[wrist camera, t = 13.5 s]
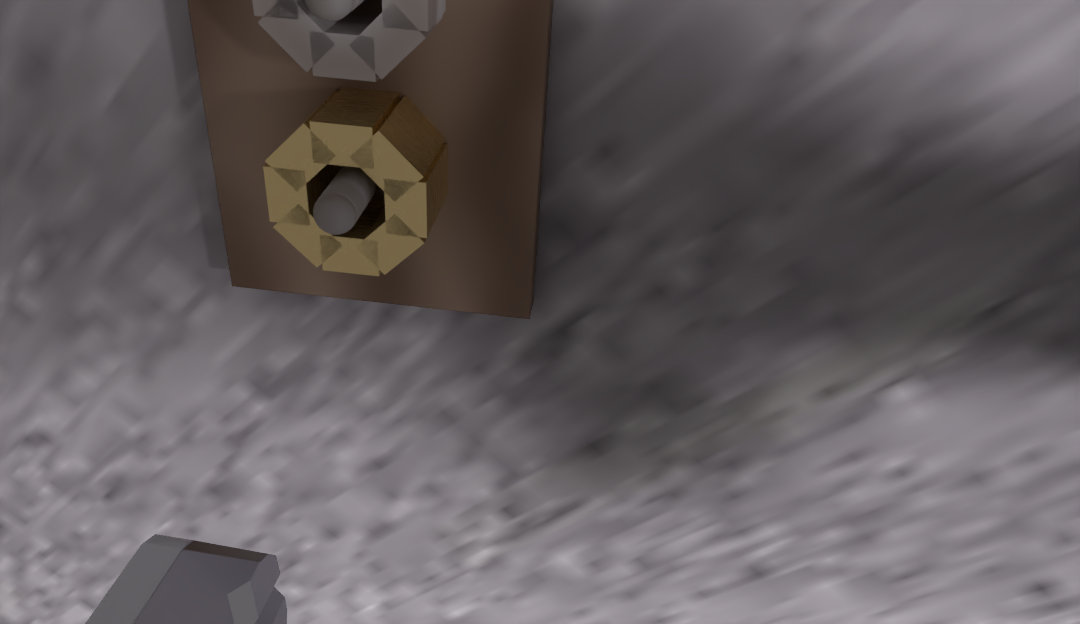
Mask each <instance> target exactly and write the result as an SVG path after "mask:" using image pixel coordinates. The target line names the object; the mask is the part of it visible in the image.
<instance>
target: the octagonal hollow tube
mask: <svg viewBox="0 0 1080 624" xmlns="http://www.w3.org/2000/svg"><path fill="white" fill-rule="evenodd" d="M444 139H445V137H444V136H443V135H442V134H441V132H440V131H439V130H438V129H437V128H436V127H435V126H434V125H433V124H432V123H431V122H430V121H429V120H428V119H427V118H426V117H425V115H424V114H423V113H422V112H421V111H420V110H419V109H418V108H417V107H416V106H415V105H414V104H413V103H412V102H411V101H410V100H409V99H408V97H407V96H406V95H405V96H404V97H402V98H401V99H400V92H393V91H383V90H372V89H362V88H351V87H342V88H341V89H340V90H338V89H336V90H335V91H334V92H333V93H332V94H331V95H330V96H329V97H328V98H327V99H326V100H325V101H324V102H323V103H322V104H321V105H320V106H319V107H318V108H317V109H316V110H315V111H314V112H313V113H312V114H311V115H310V116H309V117H308V118H307V119H306V120H305V121H304V122H303V123H302V124H301V125H300V126H299V127H298V128H297V129H296V130H295V131H294V132H293V133H292V134H291V135H290V136H289V137H288V138H287V139H286V140H285V141H284V142H283V143H282V144H281V145H280V146H279V147H278V148H277V149H276V150H275V151H274V152H273V153H272V154H271V155H270V156H269V157H268V158H267V159H266V160H265V162H266V164H265V165H264V166H263V170H264V178H265V187H266V195H267V203H268V211H269V219H270V222H277V223H276V224H275V225H274V226H273V228H274V229H275V230H277V231H278V232H279V233H280V234H281V235H282V236H283V237H284V238H285V239H286V240H287V241H289V242H290V243H291V244H292V245H293V246H294V247H295V248H296V249H297V250H298V251H299V252H301V253H302V254H303V255H304V256H305V257H306V258H307V259H308V260H309V261H310V262H311V263H312V264H314V265H315V266H316V267H318V266H319V265H321V264H322V268H323V270H325V271H334V272H343V273H352V274H361V275H371V276H380V274H381V272H382V273H383V274H384V275H385V274H387V273H388V272H389V271H390V270H392V269H393V268H394V267H395V266H397V265H398V264H399V263H400V262H402V261H403V260H404V259H405V258H407V257H408V256H409V255H410V254H412V253H413V252H414V251H415V250H417V249H418V248H419V247H420V246H422V245H423V244H424V243H425V241H426V239H427V237H428V235H429V233H430V231H431V229H432V226H433V224H434V222H435V220H436V218H437V216H438V214H439V212H440V210H441V207H442V205H443V203H444V201H445V199H446V197H447V195H448V143H443V141H444ZM340 166H349V167H359V168H361V169H362V170H363V171H364V172H365V173H366V174H367V175H368V176H369V177H370V178H371V179H372V180H373V181H374V182H375V183H376V184H377V185H378V186H379V187H380V188H381V189H382V190H383V191H384V196H383V195H373V197H372V198H371V200H370V202H369V203H368V205H367V206H366V208H365V209H364V211H363V212H362V214H361V215H360V217H359V219H358V220H357V222H356V223H355V225H354V226H353V227H352V228H351V229H350V230H349V231H348V232H346V233H343V234H339V235H333V234H329V233H326V232H324V231H323V230H322V229H320V228H319V227H318V225H317V224H316V222H315V220H314V216H313V209H314V205H315V203H316V201H317V200H318V198H319V197H320V196H321V194H322V193H323V192H324V190H325V189H326V188H327V186H328V185H329V184H330V183H331V181H332V180H333V179H334V177H335V176H336V175H337V174H338V172H339V171H340Z"/></svg>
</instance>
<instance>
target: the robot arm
mask: <svg viewBox="0 0 1080 624" xmlns="http://www.w3.org/2000/svg"><path fill="white" fill-rule="evenodd" d="M279 575H280V570H279V566H278V561H277V557H276V555H271V554H266V553H260V552H255V551H249V550H244V549H238V548H232V547H227V546H221V545H216V544H210V543H205V542H199V541H194V540H188V539H182V538H176V537H170V536H163V535H157V534H155V535H154V536H152V537H151V538H150V539H148V540H147V541H146V542H144V543H143V544H142V545H141V546H140V548H139V549H138V550H137V552H136V553H135V555H134V556H133V557H132V559H131V560H130V562H129V563H128V564H127V566H126V567H125V569H124V570H123V571H122V573H121V574H120V576H119V577H118V578H117V580H116V581H115V583H114V584H113V586H112V587H111V588H110V590H109V591H108V593H107V594H106V595H105V597H104V598H103V600H102V601H101V602H100V604H99V605H98V607H97V608H96V609H95V611H94V612H93V614H92V615H91V616H90V618H89V619H88V621H87V622H86V624H287V607H286V601H285V597H284V596H283V595H282V594H281V593H280V592H279V591H278V590H277V589H276V588H275V587H274V585H275V583H276V581H277V579H278V577H279Z"/></svg>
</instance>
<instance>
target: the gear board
mask: <svg viewBox="0 0 1080 624" xmlns="http://www.w3.org/2000/svg"><path fill="white" fill-rule="evenodd" d="M188 7H189V13H190V20H191V26H192V32H193V39H194V45H195V52H196V58H197V64H198V71H199V77H200V83H201V90H202V96H203V103H204V109H205V115H206V122H207V128H208V134H209V141H210V147H211V154H212V160H213V166H214V173H215V179H216V185H217V192H218V198H219V205H220V211H221V217H222V224H223V230H224V237H225V243H226V249H227V256H228V262H229V268H230V275H231V281H232V286H236V287H245V288H254V289H263V290H272V291H281V292H290V293H300V294H309V295H318V296H327V297H336V298H345V299H354V300H363V301H372V302H381V303H390V304H399V305H408V306H417V307H426V308H436V309H445V310H454V311H463V312H472V313H481V314H490V315H499V316H508V317H517V318H526V319H530V314H531V310H532V305H533V299H534V283H535V268H536V253H537V238H538V223H539V208H540V193H541V178H542V162H543V147H544V132H545V117H546V102H547V87H548V72H549V56H550V41H551V26H552V11H553V0H188ZM342 87H351V88H362V89H372V90H383V91H393V92H400V99H401V98H402V97H404V96H405V95H406V96H407V97H408V99H409V100H410V101H411V102H412V103H413V104H414V105H415V106H416V107H417V108H418V109H419V110H420V111H421V112H422V113H423V114H424V115H425V117H426V118H427V119H428V120H429V121H430V122H431V123H432V124H433V125H434V126H435V127H436V128H437V129H438V130H439V131H440V132H441V134H442V135H443V136H444V137H445V139H444V141H443V143H448V195H447V197H446V199H445V201H444V203H443V205H442V207H441V210H440V212H439V214H438V216H437V218H436V220H435V222H434V224H433V226H432V229H431V231H430V233H429V235H428V237H427V239H426V241H425V243H424V244H423V245H422V246H420V247H419V248H418V249H417V250H415V251H414V252H413V253H412V254H410V255H409V256H408V257H407V258H405V259H404V260H403V261H402V262H400V263H399V264H398V265H397V266H395V267H394V268H393V269H392V270H390V271H389V272H388V273H387V274H385V275H384V274H383V273H382V272H381V274H380V276H371V275H361V274H352V273H343V272H334V271H325V270H323V268H322V264H321V265H319V266H318V267H316V266H315V265H314V264H312V263H311V262H310V261H309V260H308V259H307V258H306V257H305V256H304V255H303V254H302V253H301V252H299V251H298V250H297V249H296V248H295V247H294V246H293V245H292V244H291V243H290V242H289V241H287V240H286V239H285V238H284V237H283V236H282V235H281V234H280V233H279V232H278V231H277V230H275V229H274V228H273V226H274V225H275V224H276V223H277V222H270V219H269V211H268V203H267V195H266V187H265V178H264V170H263V166H264V165H265V164H266V162H265V160H266V159H267V158H268V157H269V156H270V155H271V154H272V153H273V152H274V151H275V150H276V149H277V148H278V147H279V146H280V145H281V144H282V143H283V142H284V141H285V140H286V139H287V138H288V137H289V136H290V135H291V134H292V133H293V132H294V131H295V130H296V129H297V128H298V127H299V126H300V125H301V124H302V123H303V122H304V121H305V120H306V119H307V118H308V117H309V116H310V115H311V114H312V113H313V112H314V111H315V110H316V109H317V108H318V107H319V106H320V105H321V104H322V103H323V102H324V101H325V100H326V99H327V98H328V97H329V96H330V95H331V94H332V93H333V92H334V91H335V90H336V89H338V90H340V89H341V88H342ZM373 195H383V196H384V191H383V190H382V189H381V188H380V187H379V186H378V185H377V184H376V183H375V182H374V181H373V180H372V179H371V178H370V177H369V176H368V175H367V174H366V173H365V172H364V171H363V170H362V169H361V168H359V167H349V166H340V171H339V172H338V174H337V175H336V176H335V177H334V179H333V180H332V181H331V183H330V184H329V185H328V186H327V188H326V189H325V190H324V192H323V193H322V194H321V196H320V197H319V198H318V200H317V201H316V203H315V205H314V209H313V216H314V220H315V222H316V224H317V225H318V227H319V228H320V229H322V230H323V231H324V232H326V233H329V234H333V235H339V234H343V233H346V232H348V231H349V230H350V229H351V228H352V227H353V226H354V225H355V223H356V222H357V220H358V219H359V217H360V215H361V214H362V212H363V211H364V209H365V208H366V206H367V205H368V203H369V202H370V200H371V198H372V197H373Z"/></svg>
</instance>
